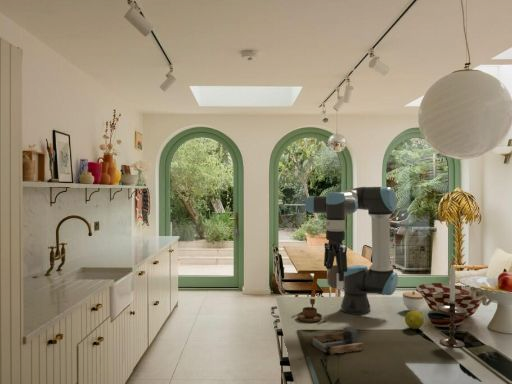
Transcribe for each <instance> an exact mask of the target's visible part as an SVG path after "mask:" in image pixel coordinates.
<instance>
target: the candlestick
mask: <svg viewBox="0 0 512 384" xmlns="http://www.w3.org/2000/svg"><path fill="white" fill-rule="evenodd" d="M454 264H455V261H454V258H451V268H450V269H449V300H448V301H446V303H448V304H447V305H445V304H444V305H439V306H437V311H438V312H439V313H441V314H443V315H449V316H450V317H449V319H450V322H449V324H448V326H447V327H448V328H449V330H448V333H449V337H448V338H445V337H444V338H440V339H439V344H440V345H442V346H445V347H447V348H453V349H455V348H456V349H460V348H464V347H465V343H464V342H463V341H461V340H460V339H455V334H456V331H455V329H456V328H457V327H456V324H455V317H456V316H467V315H468V310H467V309H466V308H465V307H461V306H457V304H459V303H458V302H457V301H456V269H455V266H454Z"/></svg>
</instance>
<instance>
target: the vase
mask: <svg viewBox="0 0 512 384" xmlns="http://www.w3.org/2000/svg"><path fill="white" fill-rule="evenodd" d="M336 272H338V269H337V264H335V265H334V264H333V266H332V268H331V270H330V271H329V272H328V275H327V274H326V282H327V281H328V284H329V285H328V286H329V287H330V288H332V289H337V273H336Z"/></svg>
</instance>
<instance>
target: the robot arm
mask: <svg viewBox="0 0 512 384" xmlns="http://www.w3.org/2000/svg"><path fill="white" fill-rule="evenodd" d="M397 201H398V200H397V196H396V192H395V190H394V189H393V188H391V187H389V186H358V187H353V188H350V189H349V188H348V189H346V190H343V191H341V192H339V191H332V192H331V191H329V192H327V193H326V194H324V195H309V196H308V197H307V198H306V199H305V205H304V207H305V211H306V212H308V213H310V214H311V213H312V214H325V220H326V221H325V228H326V231H325V239H326V241H328V242H325V243H324V257H323V259H324V260H323V266H324V267H325V268H326V276H327V275H328V272H329V271H330V270H331V268H332V266H333V265H334V263H335V262H336V263H335V264H336V265H337V269H338V272H336V273H337V288H336V290H343V291H344V293H343V294H344V295H343V298H342V301H341V303H340V311H342V312H343V313H346V314H351V315H367V314H369V313H371V304H370V301H369V299H368V293H370V294H376V295H382V296H392V295H393V294H394V293H395V291H396V289H397V287H398V280H399V277H398V276H399V275H398V273H397V272H395V271H394V267H393V266H392V265H391V247H390V246H391V239H390V238H391V235H390V233H391V232H390V230H391V228H390V217H392V215H393V212H395V210H396V209H397V206H398V205H397ZM357 210H362V211H364V210H365V211H368V215H369V216H370V218H371V254H372V255H371V258H372V259H371V261H372V264H371V265H370V266H369V267H368V266H367V265H366V264H365V265H360V264H359V265H350V266H348V255H347V250H348V247H347V246H344V245H343V241H344V240H346V232H345V230H346V215H351V214H354V213H355V212H357ZM326 285H327V286H329V284H328V281H327V280H326Z"/></svg>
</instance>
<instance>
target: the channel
mask: <svg viewBox="0 0 512 384" xmlns="http://www.w3.org/2000/svg"><path fill="white" fill-rule="evenodd" d="M313 339H317V340H318V341H320V342H321V343H327V342H326V341H328V342H335V341H334V340H336V341H343V331H338V332H337V331H336V332H330V333H329V332H327V333H323V334H313V337H312V340H313ZM359 350H360V351H363V350H364V343H363V342H358V343H354V344H347V345H340V346H333V347H330V348H329V354H330V353H331V354H330V355H335V354H334V353H338V354H343V353H344V352H345V353H349V352H351V353H352V351H353V352H359Z"/></svg>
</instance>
